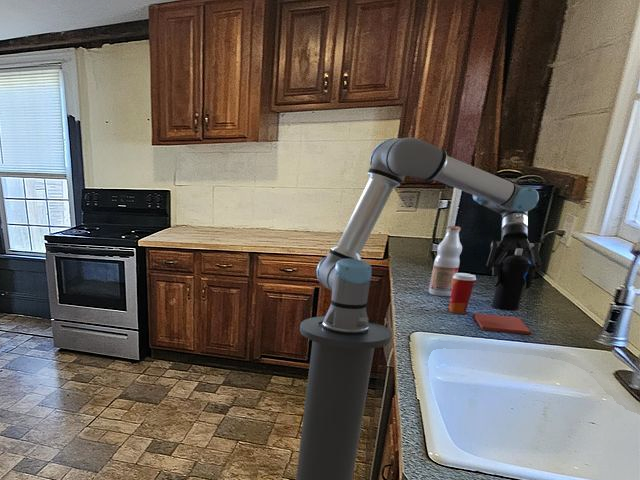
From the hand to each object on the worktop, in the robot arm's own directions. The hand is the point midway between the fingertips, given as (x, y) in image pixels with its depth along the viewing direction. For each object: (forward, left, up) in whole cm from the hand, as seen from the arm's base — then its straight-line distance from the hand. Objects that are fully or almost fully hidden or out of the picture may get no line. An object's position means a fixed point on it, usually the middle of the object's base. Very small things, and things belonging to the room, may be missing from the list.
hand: (513, 285), depth 174 cm
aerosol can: (0, +3, -9) cm, 9 cm away
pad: (0, +3, -15) cm, 15 cm away
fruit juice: (-15, +45, -15) cm, 50 cm away
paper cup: (-12, +16, -15) cm, 25 cm away
